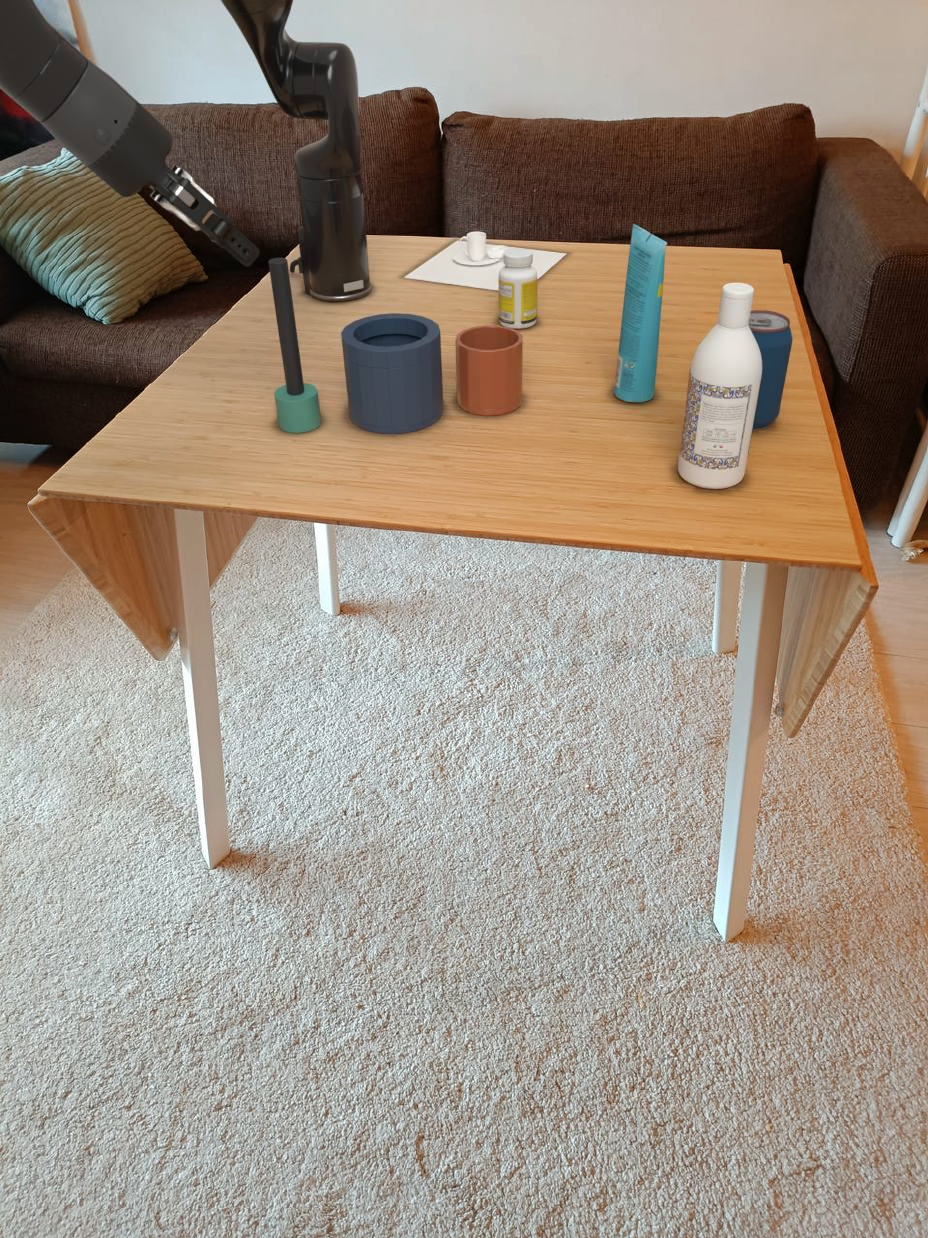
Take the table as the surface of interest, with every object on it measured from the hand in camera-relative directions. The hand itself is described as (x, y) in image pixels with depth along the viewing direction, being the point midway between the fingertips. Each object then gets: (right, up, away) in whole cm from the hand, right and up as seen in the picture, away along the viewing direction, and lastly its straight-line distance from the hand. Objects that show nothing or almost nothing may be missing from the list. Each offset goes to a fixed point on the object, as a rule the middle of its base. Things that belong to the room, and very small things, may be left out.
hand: (241, 249), depth 101 cm
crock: (+26, -11, +19) cm, 34 cm away
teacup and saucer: (+27, +19, +58) cm, 67 cm away
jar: (+15, -13, +17) cm, 26 cm away
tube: (+44, -10, +20) cm, 49 cm away
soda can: (+56, -15, +14) cm, 59 cm away
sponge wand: (+3, -15, +16) cm, 22 cm away
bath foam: (+49, -23, +4) cm, 54 cm away
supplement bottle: (+30, +4, +39) cm, 49 cm away
